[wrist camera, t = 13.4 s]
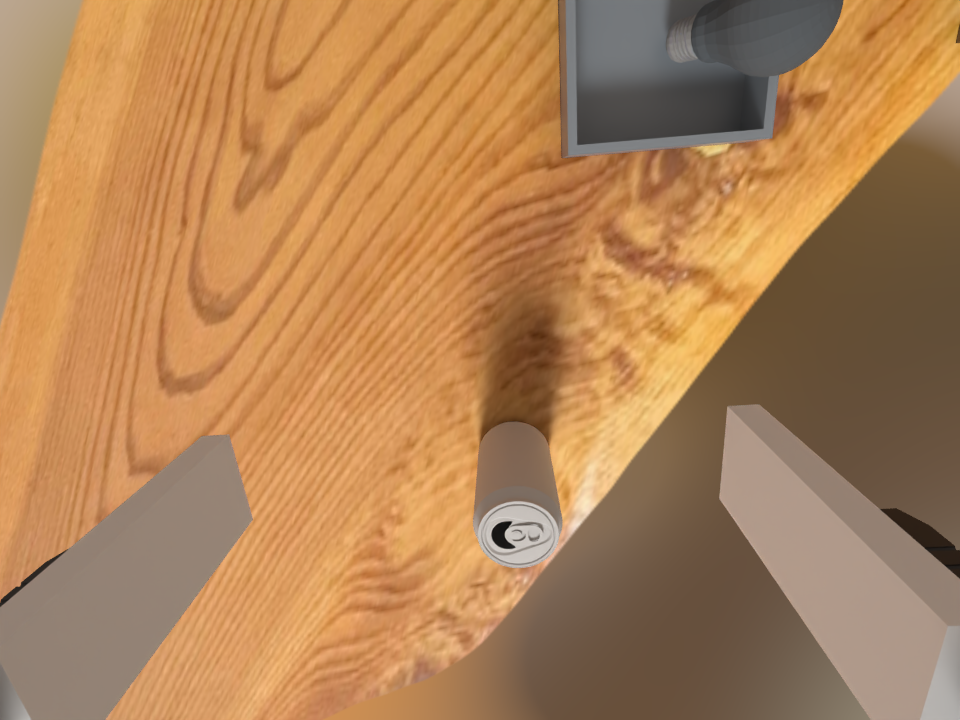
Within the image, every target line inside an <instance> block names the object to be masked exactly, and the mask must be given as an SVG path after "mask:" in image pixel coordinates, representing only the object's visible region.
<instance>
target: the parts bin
mask: <svg viewBox="0 0 960 720" xmlns="http://www.w3.org/2000/svg"><path fill="white" fill-rule="evenodd" d="M712 1H714V0H558V15H559V61H560V106H561V152H562V158H569V157H581V156H592V155H604V154H616V153H627V152H639V151H651V150H662V149H674V148H686V147H697V146H709V145H721V144H732V143H744V142H751V141H757V140H763V139H770V138H772V134H773V125H774V116H775V106H776V97H777V88H778V79H779V75H776V76H768V77H756V76H749V75H746V74H743V73H741V72H740V71H738V70H736V69H734V68H732V67H731V66H729V65H726V64H722V63H719V62H715V63H705V62H702V61H700V60H699V59H697V60H690V61H686V62H682V63H678V62H675V61H673V60H672V59H671V58H670V57H669V55H668V53H667V50H666V37H667V34H668V32H669V29H670V28H671V26H672V25H673V24H674V23H675V22H676V21H678V20H680V19H684V18H687V17H689V16H692V15H695V14H697V13H698V12H699V10H700V9H701V8H702V7H703V6H704V5H706V4H708V3H709V2H712Z"/></svg>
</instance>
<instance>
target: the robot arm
mask: <svg viewBox="0 0 960 720" xmlns="http://www.w3.org/2000/svg"><path fill="white" fill-rule="evenodd" d="M719 499H720V500H721V501H722V503H723V504H724V505H725V507H726V509H727V510H728V512H729V513H730V515H731V516H732V517H733V519H734V520H735V522H736V523H737V525H738V526H739V528H740V529H741V531H742V532H743V534H744V535H745V537H746V538H747V539H748V541H749V542H750V544H751V545H752V547H753V548H754V550H755V551H756V553H757V554H758V555H759V557H760V558H761V560H762V561H763V563H764V564H765V566H766V567H767V568H768V570H769V572H770V573H771V574H772V576H773V577H774V579H775V580H776V582H777V583H778V585H779V586H780V587H781V589H782V591H783V592H784V593H785V595H786V596H787V598H788V599H789V601H790V602H791V604H792V605H793V607H794V608H795V610H796V611H797V612H798V614H799V615H800V617H801V618H802V620H803V621H804V623H805V624H806V626H807V627H808V629H809V630H810V631H811V633H812V634H813V636H814V637H815V639H816V640H817V642H818V643H819V645H820V646H821V648H822V649H823V650H824V652H825V653H826V655H827V656H828V657H829V659H830V661H831V662H832V663H833V665H834V667H835V668H836V669H837V671H838V672H839V674H840V675H841V676H842V678H843V680H844V681H845V682H846V684H847V685H848V687H849V688H850V690H851V691H852V693H853V694H854V696H855V697H856V698H857V700H858V702H859V703H860V704H861V706H862V707H863V709H864V710H865V712H866V713H867V715H868V716H869V717H870V719H871V720H960V550H956V549H955V546H954V545H953V544H952V543H951V542H949V541H948V540H947V539H946V538H944V537H943V536H942V535H941V534H939V533H938V532H937V531H936V530H934V529H933V528H932V527H931V526H929V525H928V524H926V523H923V522H922V521H920V520H918V519H916V518H914V517H912V516H910V515H908V514H906V513H904V512H902V511H900V510H898V509H896V508H895V509H879V508H877V507H876V506H875V505H874V504H873V503H872V502H871V501H869V500H868V499H867V498H866V497H865V496H864V495H862V494H861V493H860V492H859V491H858V490H857V489H856V488H854V487H853V486H852V485H851V484H850V483H849V482H848V481H846V480H845V479H844V478H843V477H842V476H841V475H840V474H838V473H837V472H836V471H835V470H834V469H833V468H832V467H830V466H829V465H828V464H827V463H826V462H825V461H823V460H822V459H821V458H820V457H819V456H818V455H816V454H815V453H814V452H813V451H812V450H811V449H810V448H809V447H807V446H806V445H805V444H804V443H803V442H801V441H800V440H799V439H798V438H797V437H796V436H795V435H794V434H792V433H791V432H790V431H789V430H788V429H787V428H786V427H784V426H783V425H782V424H781V423H780V422H779V421H777V420H776V419H775V418H774V417H773V416H772V415H771V414H769V413H768V412H767V411H766V410H765V409H764V408H762V407H761V406H760V405H759V404H757V405H740V406H728V408H727V419H726V431H725V443H724V453H723V464H722V476H721V487H720V498H719ZM252 520H253V518H252V514H251V511H250V507H249V504H248V500H247V497H246V493H245V490H244V486H243V482H242V479H241V475H240V472H239V468H238V465H237V461H236V458H235V454H234V451H233V447H232V443H231V440H230V436H229V435H214V436H202V437H200V438H199V439H198V440H197V441H196V442H195V443H193V444H192V445H191V446H190V447H189V448H187V449H186V450H185V451H184V452H183V453H182V454H180V455H179V456H178V457H177V458H176V459H174V460H173V461H172V462H171V463H170V464H169V465H167V466H166V467H165V468H164V469H163V470H161V471H160V472H159V473H158V474H157V475H156V476H154V477H153V478H152V479H151V480H150V481H149V482H147V483H146V484H145V485H144V486H143V487H141V488H140V489H139V490H138V491H137V492H136V493H134V494H133V495H132V496H131V497H130V498H128V499H127V500H126V501H125V502H124V503H123V504H121V505H120V506H119V507H118V508H117V509H115V510H114V511H113V512H112V513H111V514H110V515H108V516H107V517H106V518H105V519H104V520H102V521H101V522H100V523H99V524H98V525H97V526H95V527H94V528H93V529H92V530H91V531H90V532H88V533H87V534H86V535H85V536H84V537H82V538H81V539H80V540H79V541H78V542H77V543H75V544H74V545H73V546H72V547H71V548H69V549H67V550H66V551H64V552H62V553H61V554H59V555H57V556H56V557H54V558H52V559H50V560H49V561H47V562H45V563H44V564H43V565H42V566H41V567H39V568H38V569H37V570H36V571H35V572H33V573H32V574H31V575H30V576H29V577H27V578H26V579H25V580H24V581H23V582H21V586H20V587H15V588H14V589H13V590H12V591H11V592H9V593H8V594H7V595H6V596H5V597H3V598H2V599H1V602H0V720H105V719H106V718H107V717H108V715H109V714H110V712H111V711H112V710H113V708H114V707H115V706H116V704H117V703H118V702H119V700H120V699H121V698H122V696H123V695H124V693H125V692H126V691H127V689H128V688H129V687H130V685H131V684H132V683H133V681H134V680H135V679H136V677H137V676H138V675H139V673H140V672H141V670H142V669H143V668H144V666H145V665H146V664H147V662H148V661H149V660H150V658H151V657H152V656H153V654H154V653H155V651H156V650H157V649H158V647H159V646H160V645H161V643H162V642H163V641H164V639H165V638H166V637H167V635H168V634H169V633H170V631H171V630H172V628H173V627H174V626H175V624H176V623H177V622H178V620H179V619H180V618H181V616H182V615H183V614H184V612H185V611H186V609H187V608H188V607H189V605H190V604H191V603H192V601H193V600H194V599H195V597H196V596H197V595H198V593H199V592H200V591H201V589H202V588H203V586H204V585H205V584H206V582H207V581H208V580H209V578H210V577H211V576H212V574H213V573H214V572H215V570H216V569H217V567H218V566H219V565H220V563H221V562H222V561H223V559H224V558H225V557H226V555H227V554H228V553H229V551H230V550H231V549H232V547H233V546H234V544H235V543H236V542H237V540H238V539H239V538H240V536H241V535H242V534H243V532H244V531H245V530H246V528H247V527H248V525H249V524H250V523H251V521H252Z"/></svg>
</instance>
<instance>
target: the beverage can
mask: <svg viewBox="0 0 960 720" xmlns="http://www.w3.org/2000/svg"><path fill="white" fill-rule="evenodd" d="M473 527H474V531H475V534H476V536H477V538H478V541H479V544H480V547H481V549H482V550H483V552H484V553H485V554H486V555H487V556H488V557H489V558H490V559H491V560H493V561H495V562H496V563H498V564H501V565H503V566H507V567H512V568H525V567H530V566H533V565H536V564H539V563H541V562H542V561H544V560H545V559H547V558H548V557H549V556H550V555H551V554H552V553H553V551H554V550H555V548H556V546H557V544H558V540H559V536H560V533H561V530H562V515H561V510H560V504H559V499H558V494H557V488H556V483H555V477H554V472H553V466H552V461H551V455H550V450H549V445H548V442H547V440H546V438H545V437H544V435H543V434H542V433H541V432H540V431H539V430H538V429H536V428H535V427H533V426H531V425H529V424H526V423H523V422H505V423H502V424H499V425H497V426H495V427H493V428H492V429H491V430H489V431H488V432H487V433H486V434H485V436H484V437H483V439H482V441H481V443H480V446H479V454H478V467H477V479H476V492H475V505H474V517H473Z"/></svg>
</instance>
